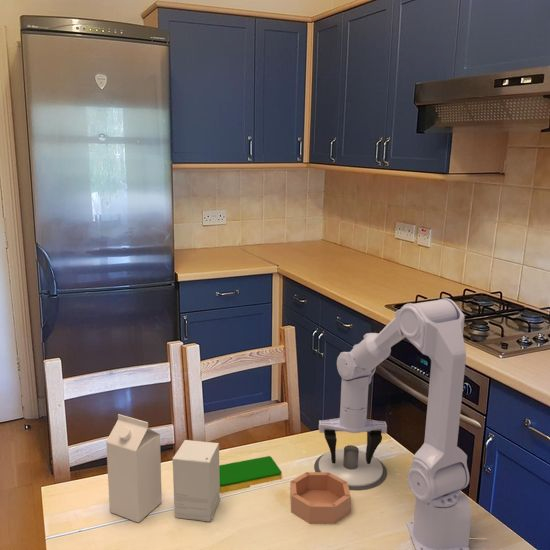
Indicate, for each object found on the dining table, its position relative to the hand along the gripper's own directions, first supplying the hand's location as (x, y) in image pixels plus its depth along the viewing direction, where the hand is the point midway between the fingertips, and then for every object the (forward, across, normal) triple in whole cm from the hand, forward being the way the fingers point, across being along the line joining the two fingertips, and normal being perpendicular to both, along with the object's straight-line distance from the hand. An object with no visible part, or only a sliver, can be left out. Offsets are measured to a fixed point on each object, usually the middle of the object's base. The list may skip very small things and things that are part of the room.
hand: (350, 461), depth 122 cm
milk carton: (+2, +44, +14) cm, 46 cm away
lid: (+2, 0, 0) cm, 2 cm away
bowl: (+2, +8, +13) cm, 15 cm away
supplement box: (+2, +32, +14) cm, 35 cm away
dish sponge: (+3, +23, +3) cm, 23 cm away
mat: (+2, 0, 0) cm, 2 cm away
